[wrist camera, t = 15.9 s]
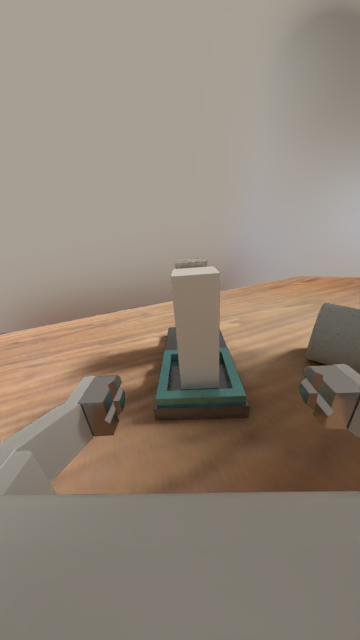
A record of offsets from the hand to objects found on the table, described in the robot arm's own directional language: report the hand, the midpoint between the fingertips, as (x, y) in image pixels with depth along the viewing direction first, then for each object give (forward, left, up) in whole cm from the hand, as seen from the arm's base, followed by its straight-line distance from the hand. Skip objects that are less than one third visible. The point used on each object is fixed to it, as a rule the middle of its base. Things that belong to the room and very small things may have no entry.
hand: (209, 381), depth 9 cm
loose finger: (-9, -6, -9) cm, 14 cm away
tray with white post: (-13, -9, -10) cm, 19 cm away
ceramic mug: (-23, +7, -11) cm, 27 cm away
